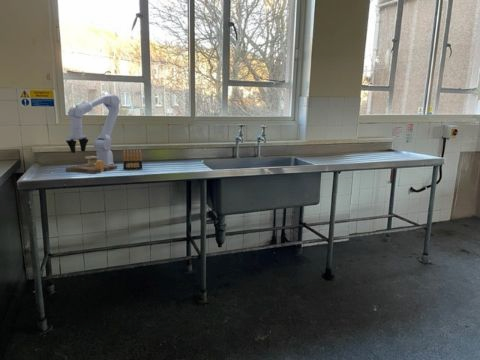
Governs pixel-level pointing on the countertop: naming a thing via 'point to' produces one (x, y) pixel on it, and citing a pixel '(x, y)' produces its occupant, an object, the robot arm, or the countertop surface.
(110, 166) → the notched board
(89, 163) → the mushroom shaped handle
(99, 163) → the block
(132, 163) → the ammunition clip
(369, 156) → the countertop surface
